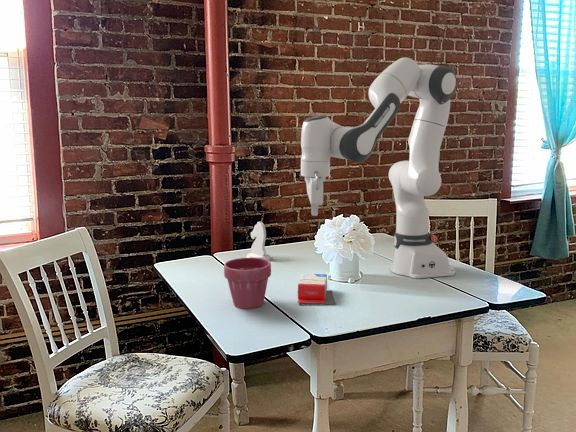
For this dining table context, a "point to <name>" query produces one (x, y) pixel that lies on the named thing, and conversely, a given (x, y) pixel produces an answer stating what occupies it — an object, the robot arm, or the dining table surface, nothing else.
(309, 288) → the ink box
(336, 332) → the dining table surface
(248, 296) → the plant pot
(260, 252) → the chess piece
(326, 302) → the mat
